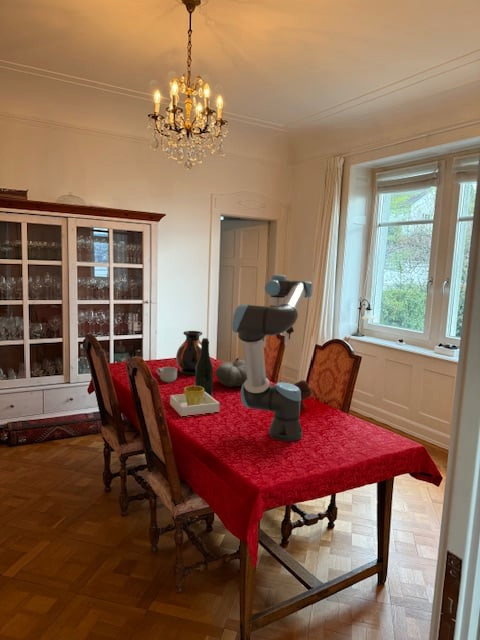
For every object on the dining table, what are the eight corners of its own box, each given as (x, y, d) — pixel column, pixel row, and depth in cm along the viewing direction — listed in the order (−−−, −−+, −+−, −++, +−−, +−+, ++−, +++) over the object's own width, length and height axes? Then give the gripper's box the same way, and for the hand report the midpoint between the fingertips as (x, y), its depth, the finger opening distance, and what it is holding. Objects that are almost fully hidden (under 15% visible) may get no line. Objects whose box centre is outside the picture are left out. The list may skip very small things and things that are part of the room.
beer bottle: (201, 398, 248) (203, 340, 243) (190, 393, 255) (192, 337, 251) (216, 395, 255) (218, 339, 250) (205, 390, 262) (207, 336, 258)
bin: (219, 412, 227) (219, 403, 226) (182, 417, 218) (182, 407, 218) (205, 400, 245) (205, 391, 244) (170, 404, 236) (170, 395, 235)
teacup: (180, 380, 281) (180, 368, 280) (168, 384, 272) (169, 372, 271) (163, 377, 288) (164, 365, 287) (152, 380, 279) (152, 368, 278)
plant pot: (186, 410, 224) (187, 392, 223) (181, 404, 234) (181, 386, 233) (206, 408, 228) (206, 390, 227) (200, 402, 238) (200, 385, 237)
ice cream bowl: (314, 406, 242) (316, 380, 240) (302, 411, 234) (304, 383, 232) (298, 401, 249) (300, 376, 247) (286, 406, 241) (288, 379, 239)
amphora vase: (180, 367, 314) (181, 328, 310) (210, 369, 311) (211, 330, 307) (171, 375, 293) (172, 333, 289) (203, 377, 290) (205, 335, 286)
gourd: (264, 383, 274) (260, 356, 272) (231, 395, 261) (226, 367, 259) (242, 377, 295) (238, 352, 293) (210, 388, 282) (206, 362, 279)
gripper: (294, 304, 234) (291, 343, 237) (252, 304, 223) (250, 346, 226) (302, 306, 227) (299, 346, 230) (259, 306, 216) (257, 349, 219)
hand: (275, 346), depth 228 cm, fingers open, 13 cm apart
